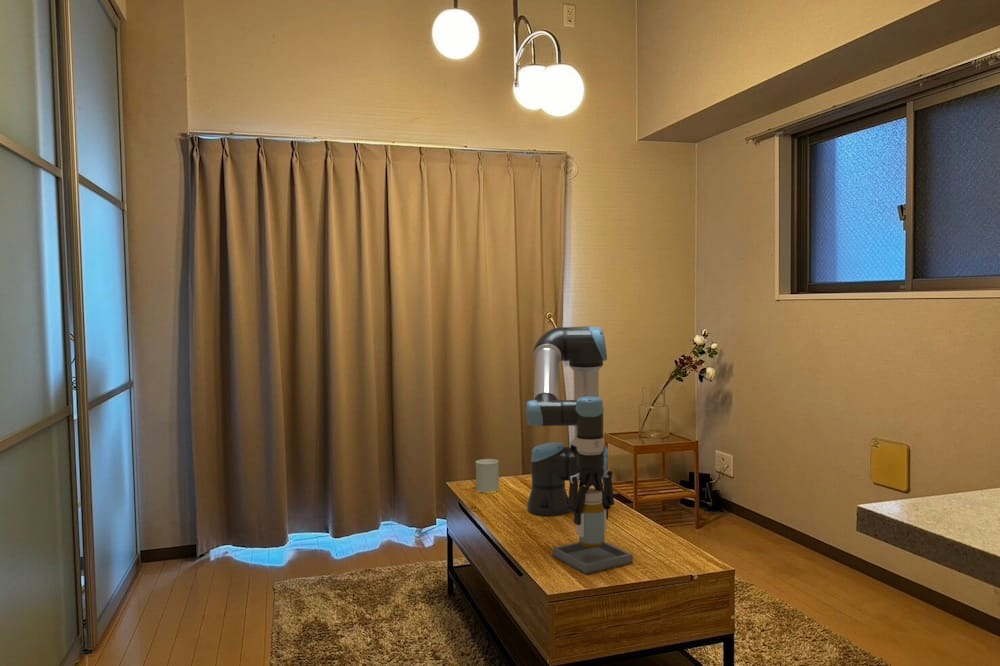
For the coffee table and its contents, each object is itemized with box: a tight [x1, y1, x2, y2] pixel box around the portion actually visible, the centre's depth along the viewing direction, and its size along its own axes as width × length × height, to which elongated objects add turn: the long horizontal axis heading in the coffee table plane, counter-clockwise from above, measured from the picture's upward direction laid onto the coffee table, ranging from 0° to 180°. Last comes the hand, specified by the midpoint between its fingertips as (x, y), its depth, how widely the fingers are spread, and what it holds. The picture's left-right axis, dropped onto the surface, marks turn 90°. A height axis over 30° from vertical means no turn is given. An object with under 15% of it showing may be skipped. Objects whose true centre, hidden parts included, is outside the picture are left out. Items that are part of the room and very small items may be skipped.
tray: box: [552, 540, 634, 576], centre depth 194 cm, size 16×16×2 cm
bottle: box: [578, 487, 605, 548], centre depth 193 cm, size 7×7×15 cm
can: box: [475, 458, 500, 492], centre depth 270 cm, size 9×9×12 cm
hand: (591, 533), depth 193 cm, fingers closed on bottle, 7 cm apart
